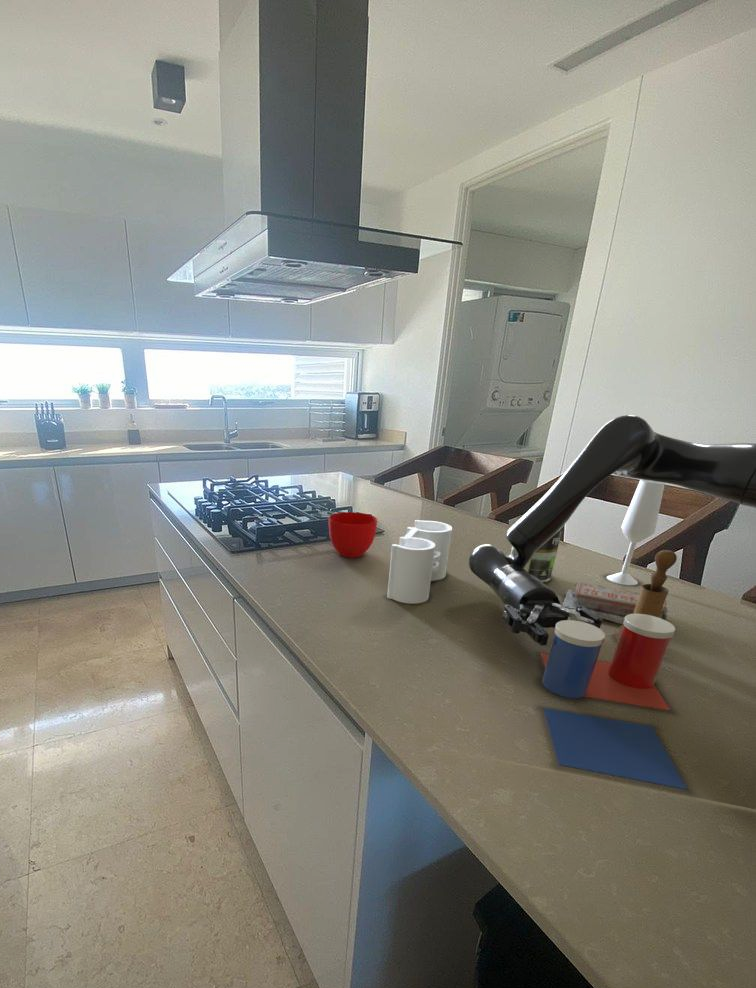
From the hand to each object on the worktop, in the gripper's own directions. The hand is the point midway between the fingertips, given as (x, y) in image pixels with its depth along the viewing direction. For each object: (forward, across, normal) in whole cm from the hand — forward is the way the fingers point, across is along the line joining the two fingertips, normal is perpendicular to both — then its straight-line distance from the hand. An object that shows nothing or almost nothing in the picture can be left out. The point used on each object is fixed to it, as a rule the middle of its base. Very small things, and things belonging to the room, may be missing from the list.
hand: (573, 640), depth 74 cm
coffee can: (-48, +16, +8) cm, 51 cm away
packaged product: (-26, +24, +8) cm, 36 cm away
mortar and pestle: (-14, +21, +8) cm, 26 cm away
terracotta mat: (-1, +7, +8) cm, 11 cm away
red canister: (-2, +12, +8) cm, 15 cm away
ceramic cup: (-64, -26, +8) cm, 70 cm away
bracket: (-42, -13, +8) cm, 44 cm away
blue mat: (+14, -1, +8) cm, 16 cm away
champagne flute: (-45, +38, +8) cm, 59 cm away
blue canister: (+1, 0, +8) cm, 8 cm away
